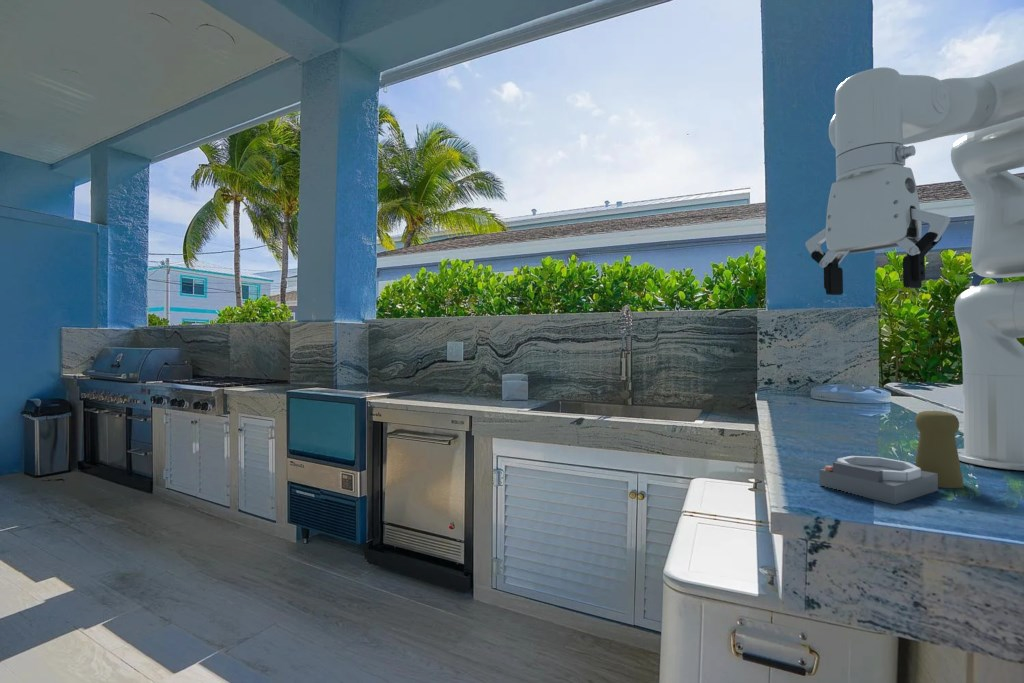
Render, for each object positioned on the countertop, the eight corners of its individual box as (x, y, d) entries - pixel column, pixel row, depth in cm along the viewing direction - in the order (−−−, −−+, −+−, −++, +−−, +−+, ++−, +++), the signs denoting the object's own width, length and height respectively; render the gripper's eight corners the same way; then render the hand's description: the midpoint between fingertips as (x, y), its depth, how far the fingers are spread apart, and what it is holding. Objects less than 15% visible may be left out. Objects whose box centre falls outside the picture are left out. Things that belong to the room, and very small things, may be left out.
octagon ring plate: (863, 474, 81) (862, 450, 81) (937, 490, 72) (937, 463, 72) (819, 485, 76) (819, 459, 76) (895, 504, 67) (894, 475, 67)
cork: (974, 488, 73) (973, 414, 73) (927, 487, 74) (926, 414, 74) (947, 477, 79) (946, 408, 79) (904, 476, 80) (903, 408, 80)
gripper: (961, 149, 62) (963, 285, 62) (820, 188, 77) (823, 297, 77) (931, 139, 59) (934, 283, 59) (791, 181, 74) (793, 296, 74)
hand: (871, 291), depth 68 cm, fingers open, 9 cm apart
